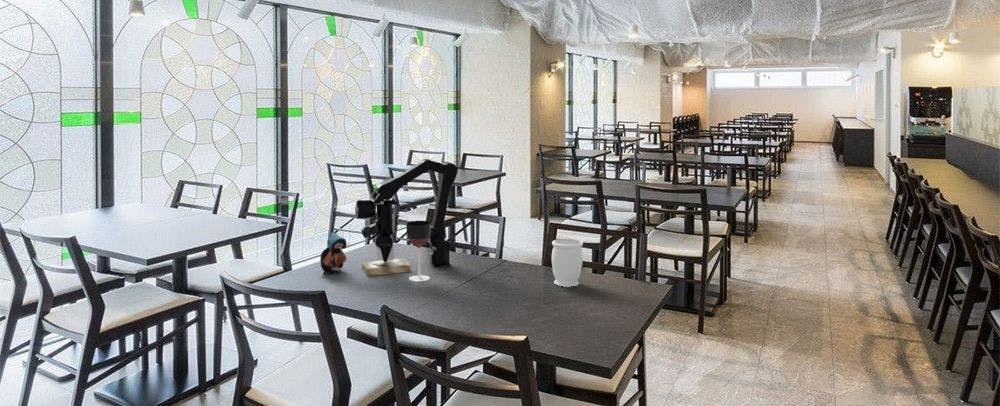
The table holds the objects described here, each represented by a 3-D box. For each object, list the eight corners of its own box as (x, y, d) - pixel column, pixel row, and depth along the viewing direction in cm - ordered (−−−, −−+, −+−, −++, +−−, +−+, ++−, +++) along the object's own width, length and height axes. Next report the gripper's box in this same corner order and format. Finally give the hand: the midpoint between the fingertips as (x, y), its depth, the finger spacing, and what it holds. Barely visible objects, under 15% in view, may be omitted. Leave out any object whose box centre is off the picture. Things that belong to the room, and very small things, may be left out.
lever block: (404, 264, 246) (403, 257, 246) (410, 271, 237) (410, 264, 236) (362, 268, 240) (361, 261, 240) (367, 275, 231) (366, 268, 230)
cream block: (378, 262, 239) (378, 244, 238) (394, 262, 239) (394, 244, 237) (374, 266, 233) (373, 247, 232) (390, 266, 233) (389, 248, 232)
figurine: (331, 277, 229) (329, 236, 227) (317, 274, 233) (316, 233, 231) (351, 270, 238) (350, 231, 235) (338, 267, 241) (336, 228, 239)
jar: (584, 281, 225) (585, 239, 223) (578, 290, 216) (579, 246, 213) (555, 278, 229) (556, 237, 226) (547, 286, 219) (548, 243, 216)
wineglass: (435, 276, 231) (434, 221, 227) (422, 282, 223) (421, 226, 219) (416, 273, 234) (415, 219, 231) (403, 280, 226) (401, 224, 223)
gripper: (364, 212, 243) (365, 252, 246) (360, 222, 225) (361, 265, 228) (394, 212, 245) (395, 252, 247) (392, 221, 226) (393, 264, 229)
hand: (385, 258), depth 238 cm, fingers open, 9 cm apart
